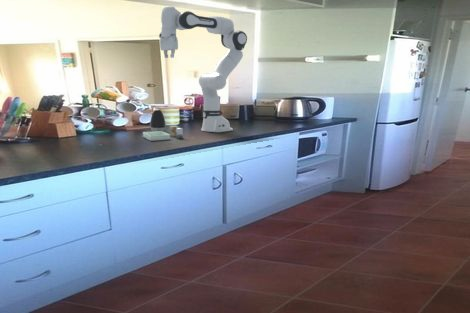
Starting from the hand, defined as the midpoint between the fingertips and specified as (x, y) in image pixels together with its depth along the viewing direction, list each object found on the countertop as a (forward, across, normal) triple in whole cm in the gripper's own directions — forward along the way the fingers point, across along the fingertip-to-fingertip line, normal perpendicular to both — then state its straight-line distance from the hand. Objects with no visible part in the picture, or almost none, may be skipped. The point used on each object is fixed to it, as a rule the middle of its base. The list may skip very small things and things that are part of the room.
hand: (169, 57), depth 227 cm
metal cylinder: (+48, -18, +1) cm, 51 cm away
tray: (+48, -13, +14) cm, 52 cm away
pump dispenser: (+48, +8, +5) cm, 49 cm away
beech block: (+48, -9, +1) cm, 49 cm away
